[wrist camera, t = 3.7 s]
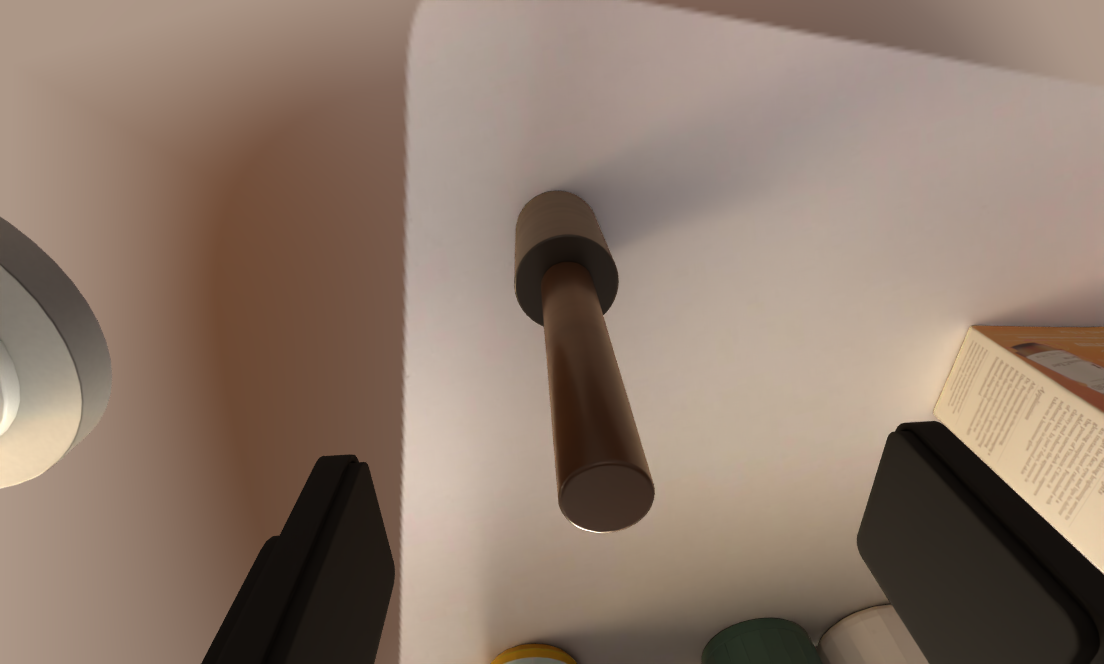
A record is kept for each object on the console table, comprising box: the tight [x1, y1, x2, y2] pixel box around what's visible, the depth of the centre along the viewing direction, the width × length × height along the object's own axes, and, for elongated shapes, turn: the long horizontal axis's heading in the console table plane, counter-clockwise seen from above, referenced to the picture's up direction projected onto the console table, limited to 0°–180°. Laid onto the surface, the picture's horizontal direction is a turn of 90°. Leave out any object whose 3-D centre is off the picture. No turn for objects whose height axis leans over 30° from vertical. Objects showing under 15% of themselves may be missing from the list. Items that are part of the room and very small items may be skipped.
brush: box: [514, 191, 655, 533], centre depth 17 cm, size 4×4×16 cm
